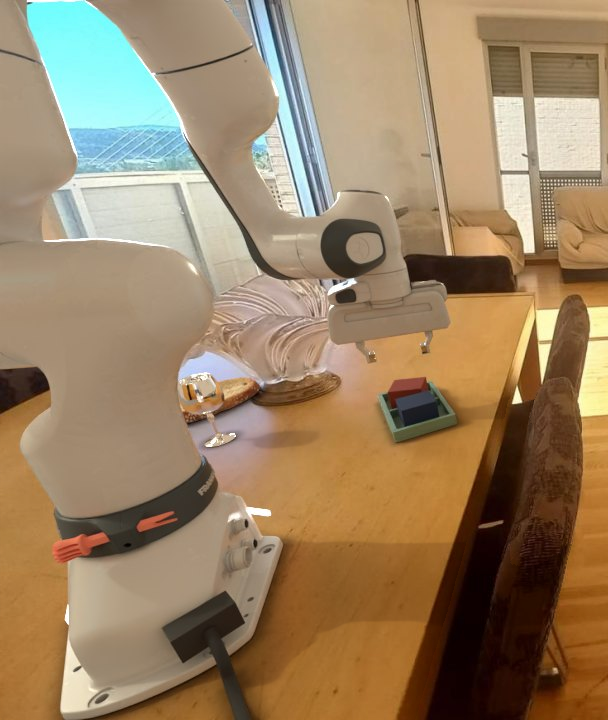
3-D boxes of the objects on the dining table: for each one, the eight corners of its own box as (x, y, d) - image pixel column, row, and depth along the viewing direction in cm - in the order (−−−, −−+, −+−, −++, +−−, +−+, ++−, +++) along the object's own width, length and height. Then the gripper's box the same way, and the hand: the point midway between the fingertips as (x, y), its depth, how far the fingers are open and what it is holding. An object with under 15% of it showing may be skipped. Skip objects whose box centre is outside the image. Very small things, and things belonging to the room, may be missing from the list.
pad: (440, 420, 87) (436, 401, 85) (406, 430, 84) (401, 410, 82) (432, 408, 91) (429, 390, 90) (399, 417, 88) (395, 399, 87)
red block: (424, 406, 92) (420, 388, 90) (392, 410, 91) (387, 392, 89) (429, 394, 97) (425, 376, 95) (398, 397, 96) (394, 379, 94)
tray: (457, 424, 87) (455, 414, 86) (395, 443, 81) (392, 432, 81) (433, 389, 100) (431, 380, 99) (379, 403, 95) (377, 394, 94)
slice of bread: (267, 383, 105) (262, 368, 104) (227, 423, 89) (219, 406, 88) (173, 394, 101) (166, 378, 100) (113, 438, 85) (103, 420, 84)
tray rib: (439, 404, 93) (438, 397, 92) (391, 418, 88) (389, 411, 88) (439, 403, 93) (437, 396, 92) (391, 416, 89) (389, 409, 88)
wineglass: (217, 450, 81) (190, 387, 76) (190, 447, 82) (162, 385, 77) (248, 432, 86) (224, 372, 81) (222, 430, 87) (197, 370, 82)
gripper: (442, 275, 91) (454, 342, 96) (321, 289, 83) (341, 361, 89) (446, 282, 86) (458, 352, 91) (316, 297, 78) (338, 373, 83)
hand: (399, 357), depth 90 cm, fingers open, 8 cm apart
